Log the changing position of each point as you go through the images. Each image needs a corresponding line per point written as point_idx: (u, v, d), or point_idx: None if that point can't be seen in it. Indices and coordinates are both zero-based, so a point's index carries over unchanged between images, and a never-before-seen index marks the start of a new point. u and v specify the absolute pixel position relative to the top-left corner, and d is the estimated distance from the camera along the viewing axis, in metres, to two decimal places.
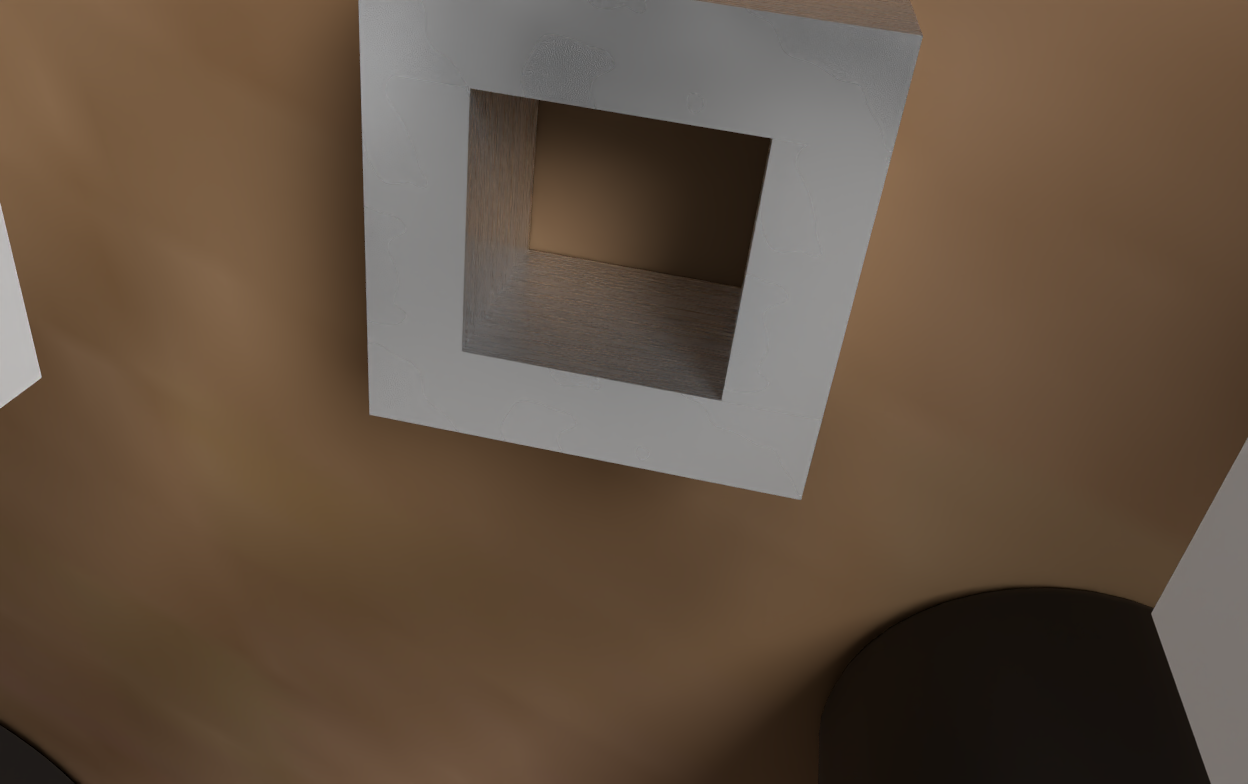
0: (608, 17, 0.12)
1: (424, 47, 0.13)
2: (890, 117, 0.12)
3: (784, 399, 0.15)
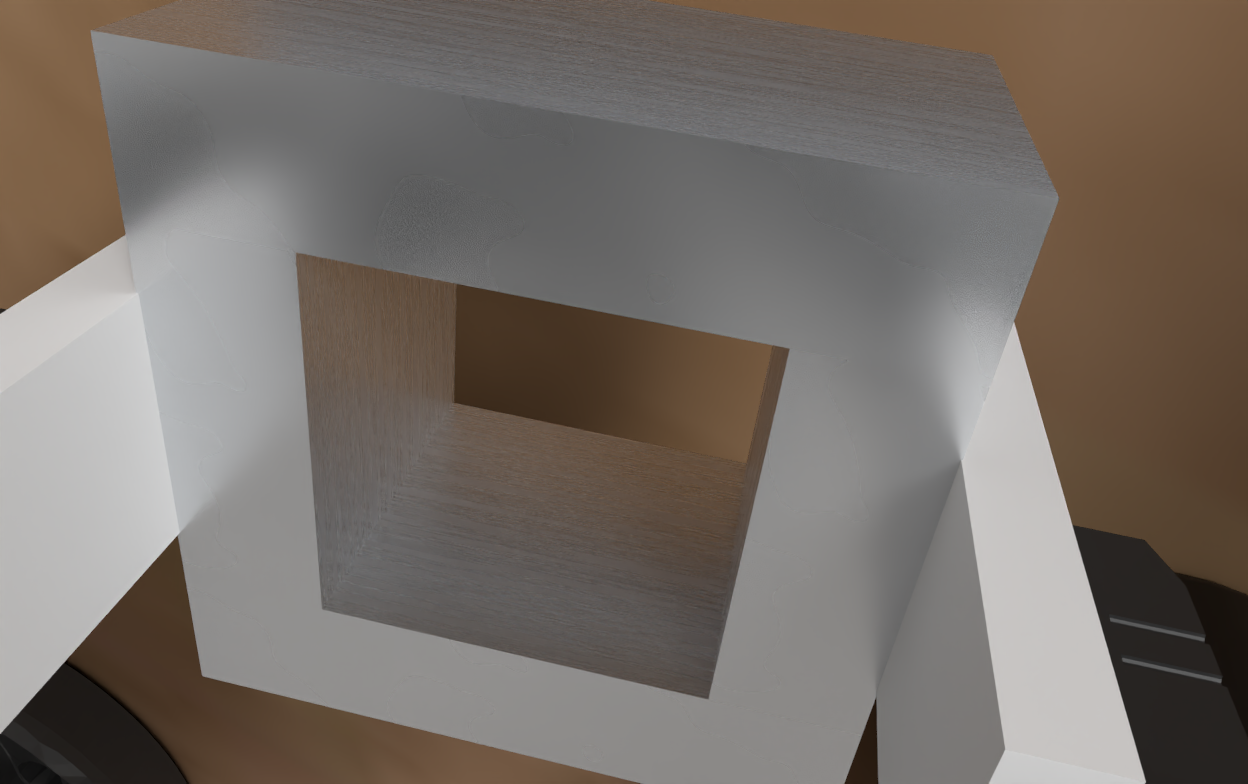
0: (509, 151, 0.07)
1: (217, 188, 0.08)
2: (992, 325, 0.07)
3: (804, 705, 0.10)
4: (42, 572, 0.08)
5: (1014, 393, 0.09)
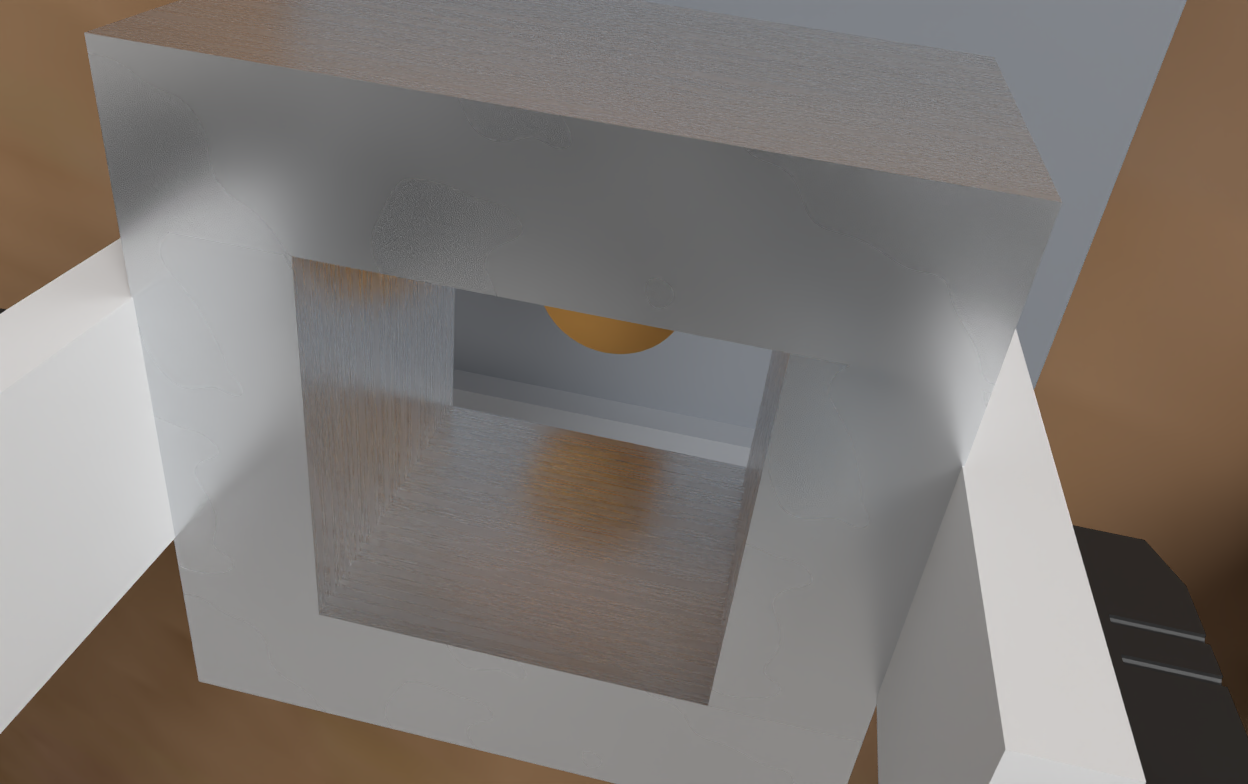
0: (506, 154, 0.07)
1: (212, 191, 0.08)
2: (995, 330, 0.07)
3: (805, 711, 0.10)
4: (42, 572, 0.08)
5: (1014, 393, 0.09)
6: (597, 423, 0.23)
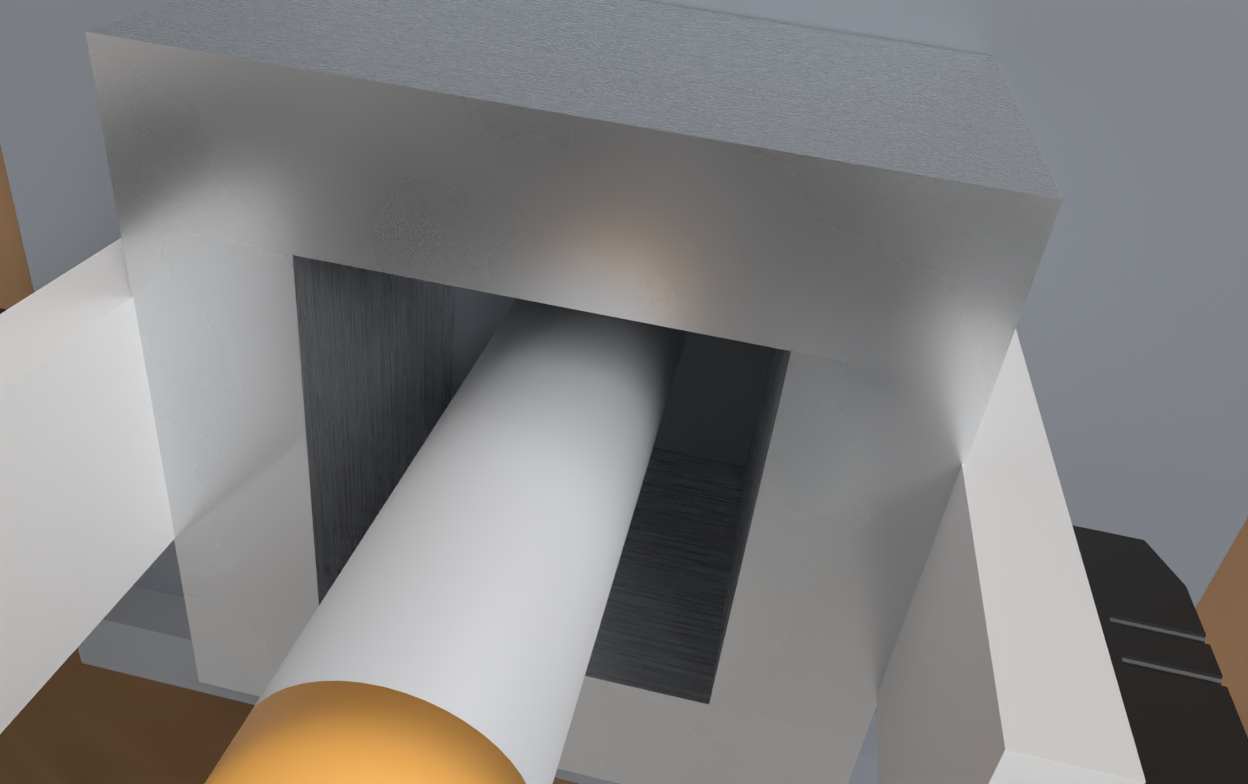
0: (509, 152, 0.07)
1: (213, 190, 0.08)
2: (996, 327, 0.07)
3: (806, 710, 0.10)
4: (42, 572, 0.08)
5: (1014, 393, 0.09)
6: None
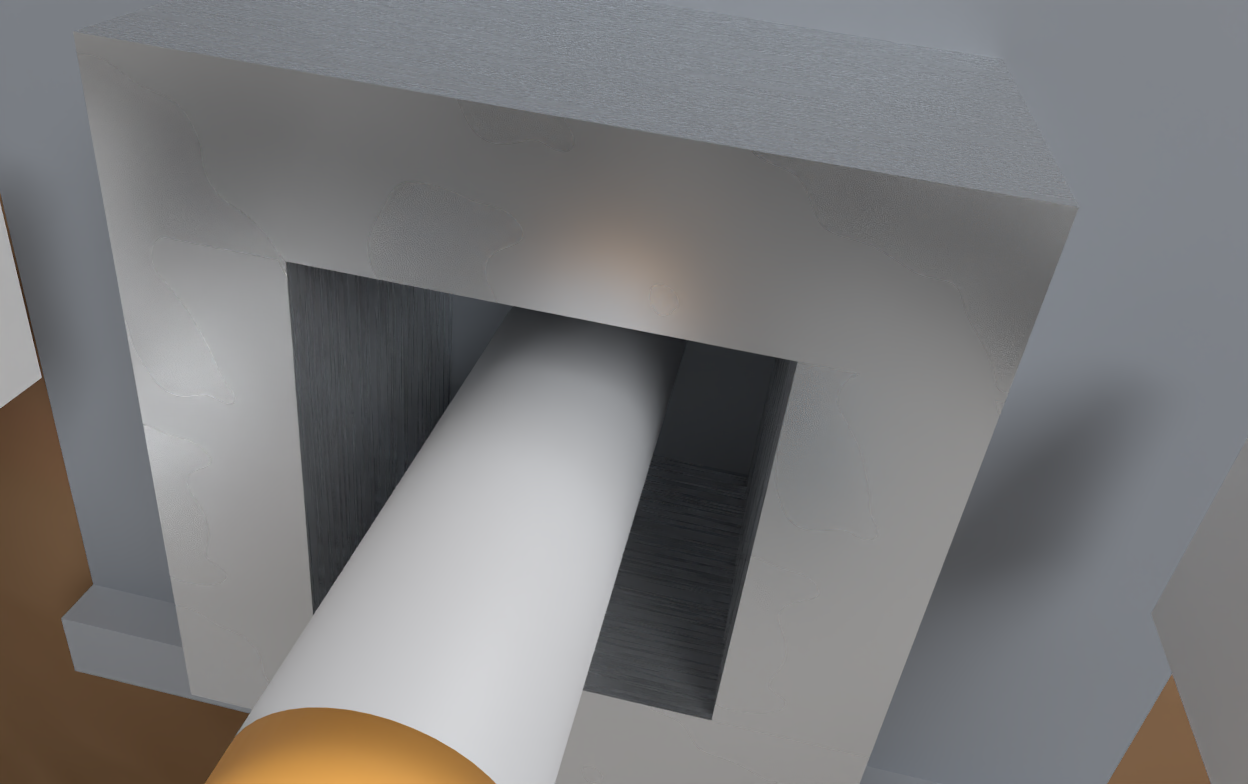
0: (509, 157, 0.07)
1: (204, 195, 0.08)
2: (1008, 338, 0.07)
3: (810, 726, 0.09)
4: None
5: None
6: None
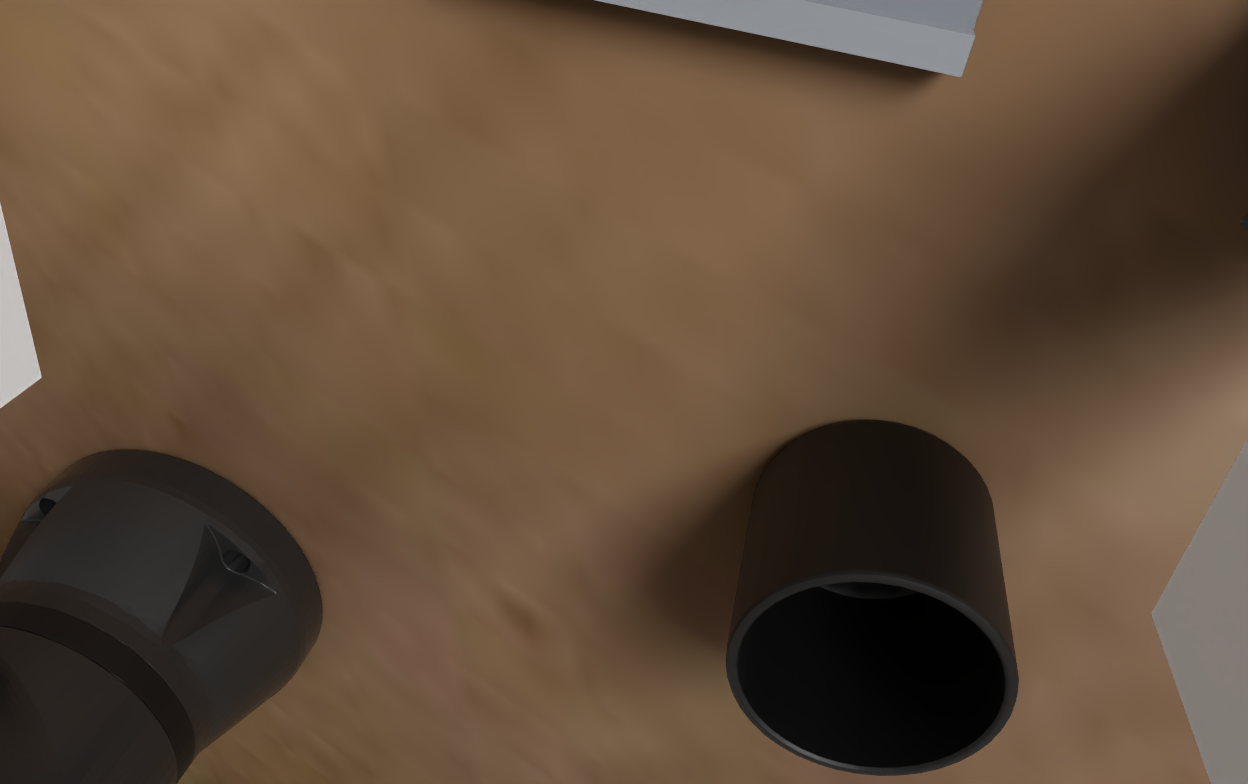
0: None
1: None
2: None
3: None
4: None
5: None
6: None
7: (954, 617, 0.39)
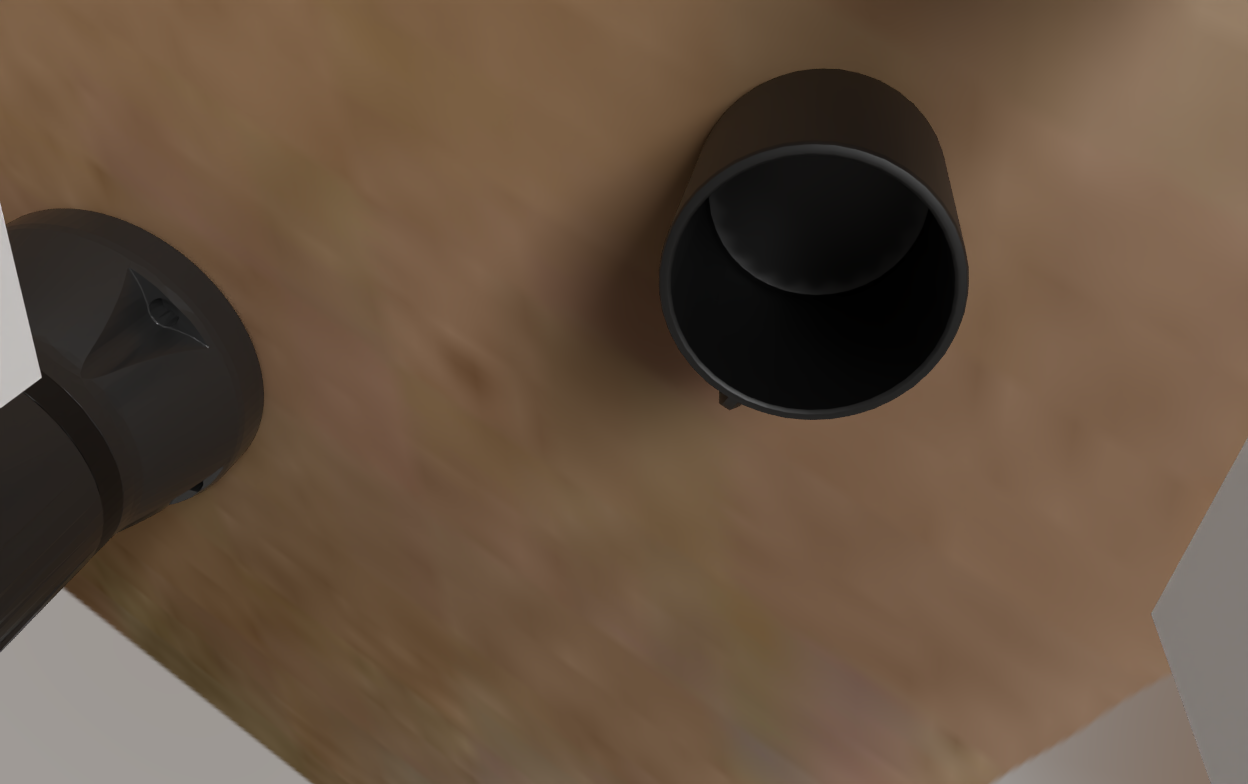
0: None
1: None
2: None
3: None
4: None
5: None
6: None
7: (910, 282, 0.37)
